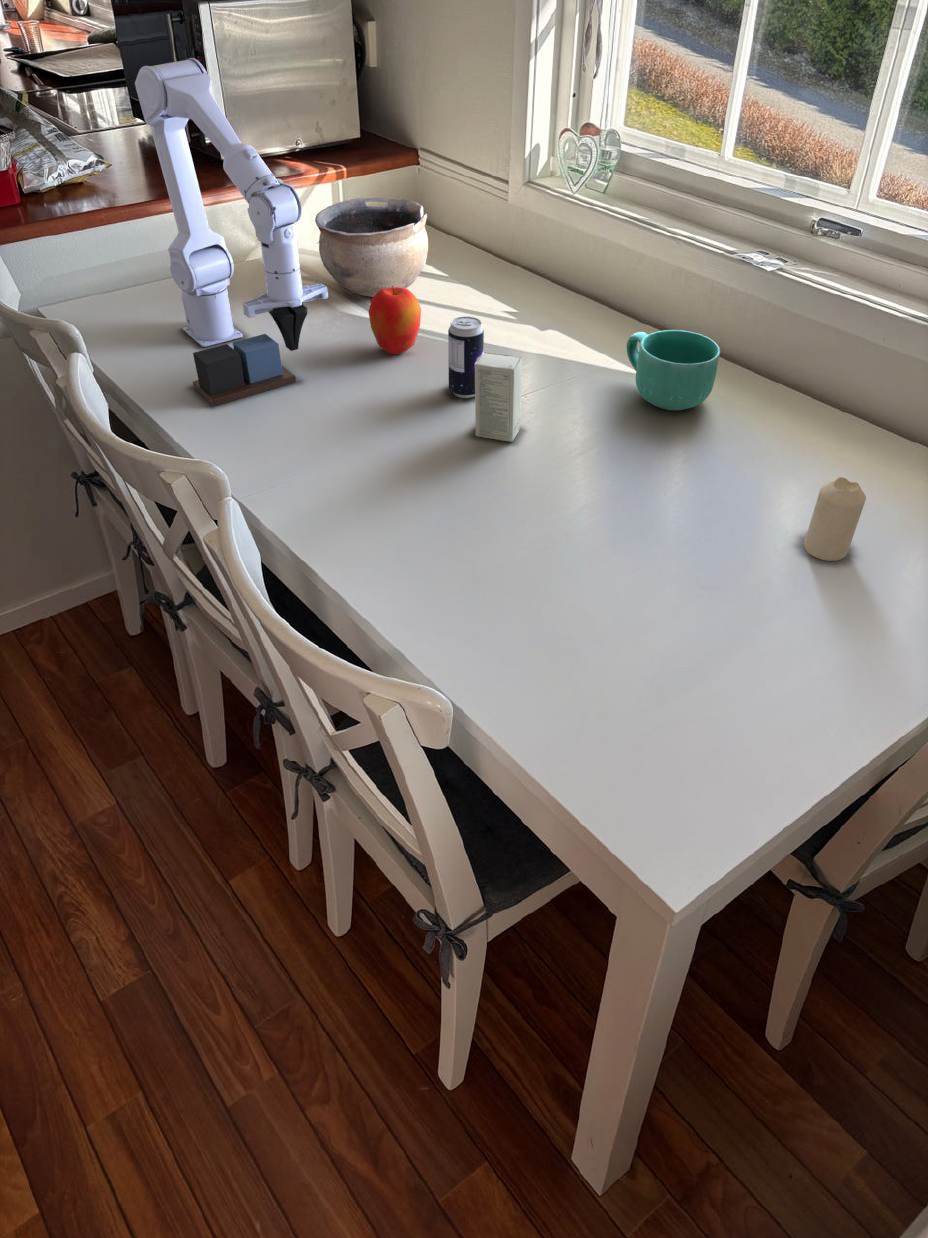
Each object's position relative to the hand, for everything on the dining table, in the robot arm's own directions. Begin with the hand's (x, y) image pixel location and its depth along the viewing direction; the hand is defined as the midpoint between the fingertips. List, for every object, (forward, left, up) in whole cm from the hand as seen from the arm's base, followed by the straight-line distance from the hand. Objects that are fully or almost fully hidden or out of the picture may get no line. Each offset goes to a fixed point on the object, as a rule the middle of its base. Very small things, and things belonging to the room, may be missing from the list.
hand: (292, 347), depth 157 cm
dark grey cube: (0, -13, -3) cm, 14 cm away
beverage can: (+23, +20, -4) cm, 31 cm away
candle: (+86, +33, -4) cm, 93 cm away
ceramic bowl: (-24, +31, -4) cm, 39 cm away
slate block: (0, -6, -3) cm, 7 cm away
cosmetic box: (+37, +16, -4) cm, 41 cm away
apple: (+3, +19, -4) cm, 19 cm away
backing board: (0, -9, -4) cm, 10 cm away
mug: (+43, +46, -4) cm, 63 cm away
